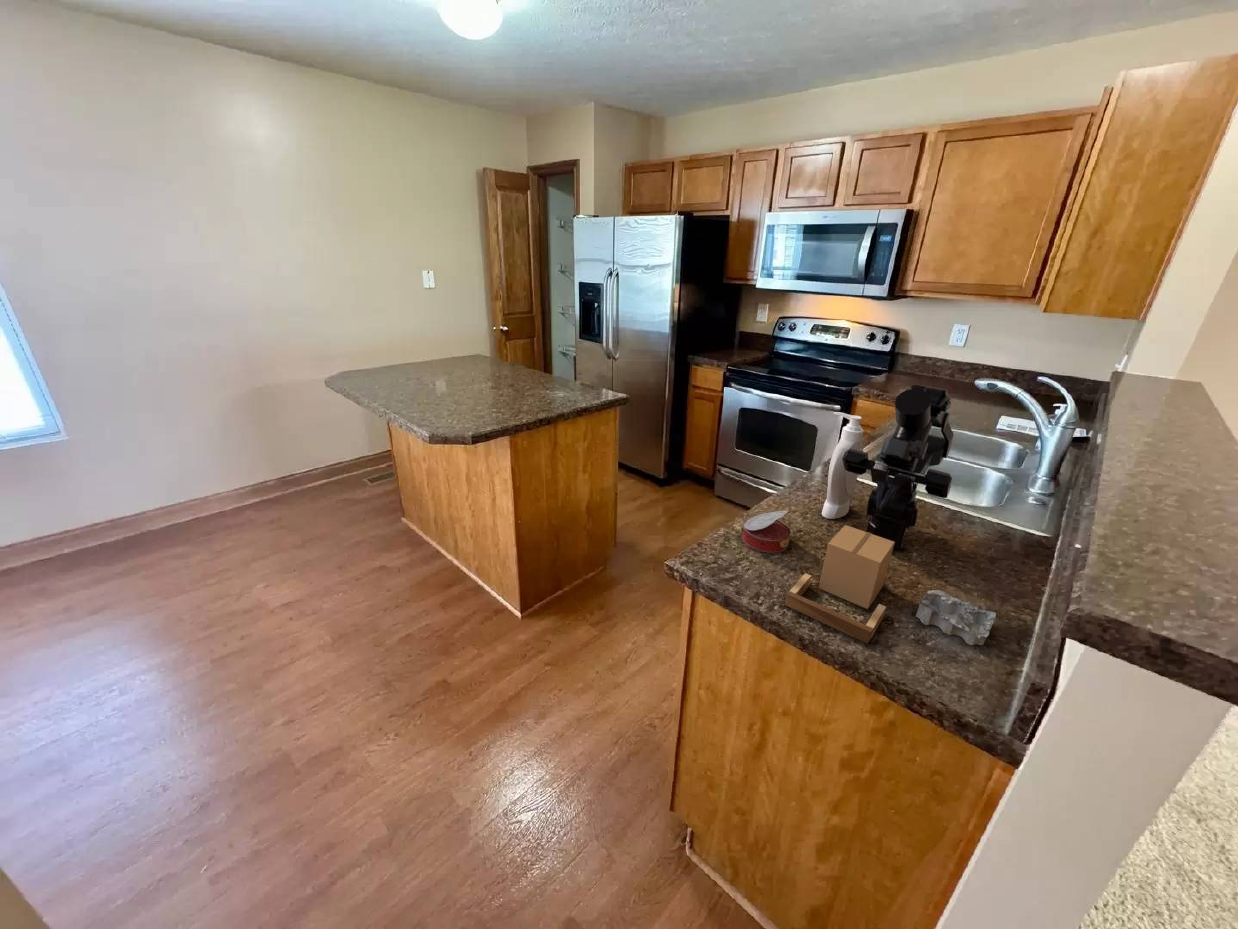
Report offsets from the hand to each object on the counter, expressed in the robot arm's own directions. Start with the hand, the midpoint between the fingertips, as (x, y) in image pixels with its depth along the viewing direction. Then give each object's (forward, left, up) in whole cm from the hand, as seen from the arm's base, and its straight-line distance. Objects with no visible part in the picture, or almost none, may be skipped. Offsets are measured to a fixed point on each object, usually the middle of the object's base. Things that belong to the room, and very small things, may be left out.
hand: (878, 510), depth 97 cm
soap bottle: (-5, -25, -14) cm, 29 cm away
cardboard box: (+5, +5, -14) cm, 16 cm away
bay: (+11, +11, -14) cm, 21 cm away
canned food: (+16, -12, -14) cm, 24 cm away
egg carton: (-7, +16, -14) cm, 22 cm away
